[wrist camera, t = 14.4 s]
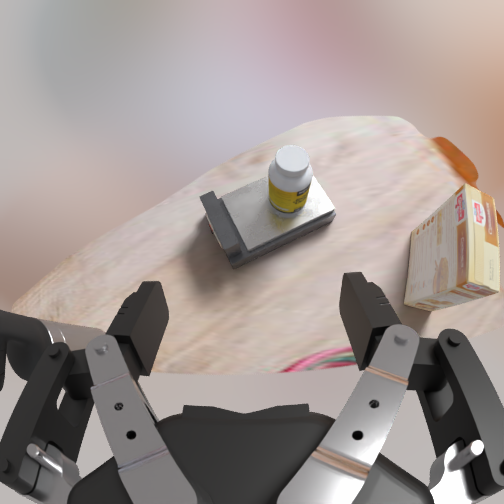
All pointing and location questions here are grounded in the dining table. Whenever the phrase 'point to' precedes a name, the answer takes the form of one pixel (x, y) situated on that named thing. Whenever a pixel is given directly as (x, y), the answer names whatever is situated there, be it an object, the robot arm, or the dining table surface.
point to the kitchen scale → (232, 239)
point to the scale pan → (271, 212)
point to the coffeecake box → (455, 253)
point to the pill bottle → (289, 179)
